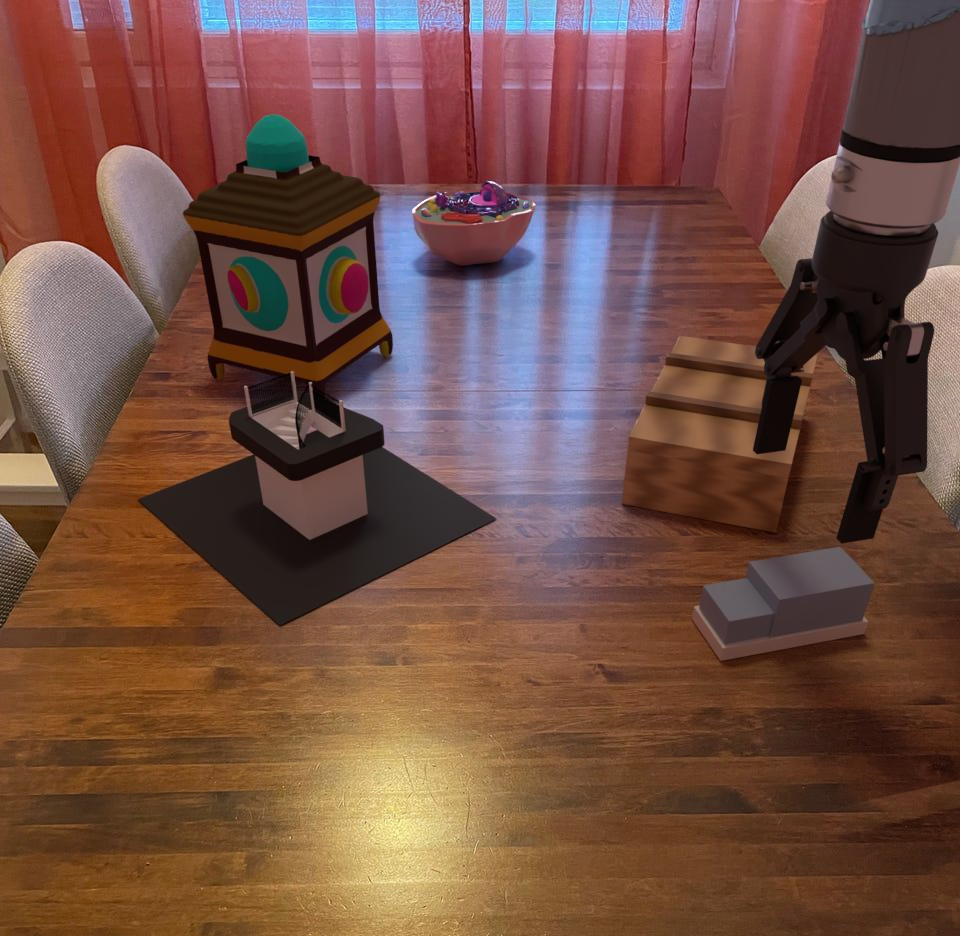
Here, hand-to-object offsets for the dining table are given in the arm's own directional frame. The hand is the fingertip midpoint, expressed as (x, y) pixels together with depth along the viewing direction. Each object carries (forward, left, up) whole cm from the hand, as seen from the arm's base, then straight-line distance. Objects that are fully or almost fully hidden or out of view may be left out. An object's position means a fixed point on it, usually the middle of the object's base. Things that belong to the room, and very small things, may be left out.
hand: (809, 492), depth 79 cm
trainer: (0, 0, -14) cm, 14 cm away
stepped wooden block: (+10, -28, -14) cm, 33 cm away
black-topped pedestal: (+48, -3, -14) cm, 50 cm away
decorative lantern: (+65, -33, -14) cm, 74 cm away
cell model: (+58, -78, -14) cm, 98 cm away
